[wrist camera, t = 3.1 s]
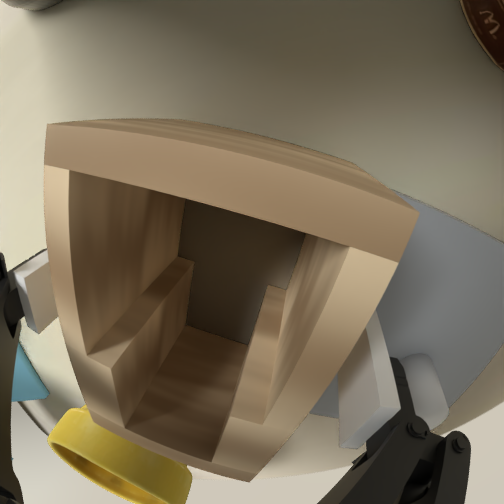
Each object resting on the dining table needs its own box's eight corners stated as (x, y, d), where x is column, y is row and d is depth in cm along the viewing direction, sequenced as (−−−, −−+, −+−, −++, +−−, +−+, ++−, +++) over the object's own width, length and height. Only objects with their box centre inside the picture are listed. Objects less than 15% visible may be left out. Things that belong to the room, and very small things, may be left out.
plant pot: (231, 382, 18) (188, 507, 10) (206, 437, 23) (175, 521, 14) (103, 326, 19) (26, 416, 10) (111, 395, 23) (65, 466, 15)
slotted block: (180, 119, 12) (47, 124, 5) (352, 162, 11) (419, 212, 4) (156, 330, 18) (93, 422, 10) (272, 369, 17) (249, 482, 10)
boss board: (379, 184, 12) (419, 216, 7) (537, 263, 11) (579, 304, 6) (283, 396, 18) (273, 456, 14) (427, 417, 17) (437, 465, 13)
